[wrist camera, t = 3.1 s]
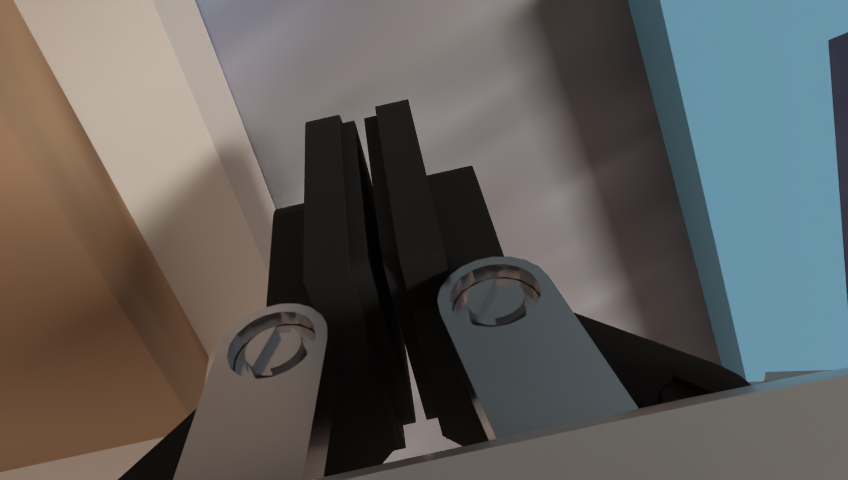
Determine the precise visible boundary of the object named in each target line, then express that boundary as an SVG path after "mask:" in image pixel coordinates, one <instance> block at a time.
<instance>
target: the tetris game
mask: <svg viewBox="0 0 848 480" xmlns="http://www.w3.org/2000/svg"><path fill="white" fill-rule="evenodd" d="M628 4H629V7H630V11H631V15H632V19H633V23H634V27H635V31H636V35H637V39H638V42H639V46H640V50H641V54H642V58H643V62H644V66H645V70H646V73H647V77H648V81H649V85H650V89H651V93H652V97H653V101H654V105H655V108H656V112H657V116H658V120H659V124H660V128H661V132H662V136H663V140H664V143H665V147H666V151H667V155H668V159H669V163H670V167H671V171H672V175H673V178H674V182H675V186H676V190H677V194H678V198H679V202H680V206H681V210H682V213H683V217H684V221H685V225H686V229H687V233H688V237H689V241H690V244H691V248H692V252H693V256H694V260H695V264H696V268H697V272H698V276H699V279H700V283H701V287H702V291H703V295H704V299H705V303H706V307H707V311H708V314H709V318H710V322H711V326H712V330H713V334H714V338H715V342H716V346H717V349H718V353H719V357H720V361H721V365H722V367H724V368H726V369H728V370H730V371H732V372H734V373H736V374H739V375H740V376H741V377H742V378H744V379H745V380H746V381H747V382H758V381H764V378H765V372H779V371H813V370H836V369H842V368H848V304H847V290H846V276H845V263H844V249H843V235H842V222H841V208H840V195H839V181H838V167H837V154H836V140H835V126H834V113H833V99H832V86H831V72H830V58H829V45H828V40H830V39H833V38H835V37H837V36H840V35H842V34H844V33H847V32H848V0H628Z"/></svg>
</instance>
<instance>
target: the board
mask: <svg viewBox="0 0 848 480" xmlns="http://www.w3.org/2000/svg"><path fill="white" fill-rule="evenodd" d="M14 2H15V4H16V6H17V8H18V10H19V11H20V13H21V15H22V17H23V19H24V21H25V22H26V24H27V26H28V28H29V30H30V32H31V33H32V35H33V37H34V39H35V41H36V42H37V44H38V46H39V48H40V50H41V52H42V53H43V55H44V57H45V59H46V61H47V63H48V64H49V66H50V68H51V70H52V72H53V73H54V75H55V77H56V79H57V81H58V83H59V84H60V86H61V88H62V90H63V92H64V94H65V95H66V97H67V99H68V101H69V103H70V104H71V106H72V108H73V110H74V112H75V114H76V115H77V117H78V119H79V121H80V123H81V125H82V126H83V128H84V130H85V132H86V134H87V135H88V137H89V139H90V141H91V143H92V145H93V146H94V148H95V150H96V152H97V154H98V156H99V157H100V159H101V161H102V163H103V165H104V167H105V168H106V170H107V172H108V174H109V176H110V177H111V179H112V181H113V183H114V185H115V187H116V188H117V190H118V192H119V194H120V196H121V198H122V199H123V201H124V203H125V205H126V207H127V208H128V210H129V212H130V214H131V216H132V218H133V219H134V221H135V223H136V225H137V227H138V229H139V230H140V232H141V234H142V236H143V238H144V239H145V241H146V243H147V245H148V247H149V249H150V250H151V252H152V254H153V256H154V258H155V260H156V261H157V263H158V265H159V267H160V269H161V270H162V272H163V274H164V276H165V278H166V280H167V281H168V283H169V285H170V287H171V289H172V291H173V292H174V294H175V296H176V298H177V300H178V301H179V303H180V305H181V307H182V309H183V311H184V312H185V314H186V316H187V318H188V320H189V322H190V323H191V325H192V327H193V329H194V331H195V333H196V334H197V336H198V338H199V340H200V342H201V343H202V345H203V347H204V349H205V351H206V353H207V354H208V356H209V360H208V366H207V373H206V379H205V383H206V380H207V377H208V374H209V371H210V368H211V365H212V362H213V359H214V356H215V353H216V350H217V348H218V346H219V345H220V343H221V341H222V339H223V337H224V336H225V335H226V334H227V332H228V331H229V330H230V329H231V328H232V327H233V326H234V325H235V324H236V323H238V322H239V321H241V320H242V319H244V318H245V317H246V316H248V315H249V314H252V313H254V312H256V311H258V310H261V309H263V308H265V307H266V303H267V290H268V277H269V263H270V250H271V237H272V224H273V215H274V211H275V210H276V209H275V206H274V204H273V201H272V199H271V196H270V193H269V191H268V188H267V186H266V183H265V180H264V178H263V175H262V173H261V170H260V167H259V165H258V162H257V160H256V157H255V155H254V152H253V149H252V147H251V144H250V142H249V139H248V136H247V134H246V131H245V129H244V126H243V123H242V121H241V118H240V116H239V113H238V111H237V108H236V105H235V103H234V100H233V98H232V95H231V92H230V90H229V87H228V85H227V82H226V80H225V77H224V74H223V72H222V69H221V67H220V64H219V61H218V59H217V56H216V54H215V51H214V48H213V46H212V43H211V41H210V38H209V36H208V33H207V30H206V28H205V25H204V23H203V20H202V17H201V15H200V12H199V10H198V7H197V4H196V2H195V0H14ZM204 386H205V385H204ZM163 438H164V437H162V438H157V439H153V440H148V441H143V442H139V443H134V444H129V445H125V446H120V447H115V448H111V449H106V450H101V451H97V452H92V453H87V454H83V455H78V456H73V457H69V458H64V459H60V460H55V461H50V462H46V463H41V464H36V465H32V466H27V467H22V468H18V469H13V470H8V471H4V472H0V480H118V479H119V478H120V477H121V476H122V475H123V474H125V473H126V472H127V471H128V470H129V469H130V468H131V467H132V466H133V465H134V464H136V463H137V462H138V461H139V460H140V459H141V458H142V457H143V456H144V455H146V454H147V453H148V452H149V451H150V450H151V449H152V448H153V447H154V446H156V445H157V444H158V443H159V442H160V441H161V440H162V439H163Z"/></svg>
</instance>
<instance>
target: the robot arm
mask: <svg viewBox="0 0 848 480" xmlns="http://www.w3.org/2000/svg"><path fill="white" fill-rule="evenodd" d="M375 109H376V115H377V116H373V117H369V118H364V121H365V129H366V137H367V145H368V153H369V161H370V169H371V177H372V183H371V179H370V175H369V172H368V168H367V164H366V161H365V157H364V153H363V150H362V146H361V142H360V138H359V135H358V131H357V128H356V124H355V122H354V121H351V122H346V123H342V120H341V117H340V116H339V115H336V116H332V117H328V118H323V119H319V120H314V121H310V122H306V125H305V185H304V203H303V204H298V205H294V206H289V207H285V208H280V209H276V210H275V211H274V215H273V224H272V237H271V250H270V263H269V277H268V290H267V303H266V307H265V308H263V309H261V310H258V311H256V312H254V313H252V314H249V315H248V316H246V317H245V318H244V319H242V320H241V321H239V322H238V323H236V324H235V325H234V326H233V327H232V328H231V329H230V330H229V331H228V332H227V334H226V335H225V336H224V337H223V339H222V341H221V343H220V345H219V346H218V348H217V350H216V353H215V356H214V359H213V362H212V365H211V368H210V371H209V374H208V377H207V380H206V383H205V386H204V389H203V392H202V395H201V398H200V401H199V404H198V407H197V408H196V409H195V410H194V411H193V412H192V413H191V414H190V415H189V416H188V417H186V418H185V419H184V420H183V421H182V422H181V423H180V424H179V425H178V426H177V427H175V428H174V429H173V430H172V431H171V432H170V433H169V434H168V435H167V436H165V437H164V438H163V439H162V440H161V441H160V442H159V443H158V444H157V445H156V446H154V447H153V448H152V449H151V450H150V451H149V452H148V453H147V454H146V455H144V456H143V457H142V458H141V459H140V460H139V461H138V462H137V463H136V464H134V465H133V466H132V467H131V468H130V469H129V470H128V471H127V472H126V473H125V474H123V475H122V476H121V477H120V478H119V479H118V480H848V368H842V369H836V370H813V371H779V372H765V378H764V381H758V382H747V381H746V380H745V379H744V378H742V377H741V376H740V375H739V374H736V373H734V372H732V371H730V370H728V369H726V368H724V367H722V366H720V365H717V364H715V363H712V362H709V361H706V360H704V359H701V358H698V357H695V356H692V355H690V354H687V353H684V352H681V351H679V350H676V349H673V348H670V347H667V346H665V345H662V344H659V343H656V342H654V341H651V340H648V339H645V338H642V337H640V336H637V335H634V334H631V333H629V332H626V331H623V330H620V329H618V328H615V327H612V326H609V325H606V324H604V323H601V322H598V321H595V320H593V319H590V318H587V317H584V316H581V315H579V314H576V313H573V311H572V310H571V308H570V307H569V305H568V304H567V302H566V301H565V300H564V298H563V297H562V295H561V294H560V292H559V291H558V289H557V288H556V286H555V285H554V283H553V282H552V280H551V279H550V278H549V276H548V275H547V274H546V273H545V272H544V271H543V270H542V269H541V268H540V267H539V266H537V265H535V264H533V263H531V262H529V261H527V260H524V259H519V258H514V257H504V255H503V252H502V249H501V247H500V244H499V241H498V238H497V235H496V232H495V229H494V226H493V224H492V221H491V218H490V215H489V212H488V209H487V206H486V203H485V201H484V198H483V195H482V192H481V189H480V186H479V183H478V180H477V178H476V175H475V172H474V169H473V167H472V166H468V167H463V168H459V169H454V170H450V171H445V172H441V173H437V174H432V175H428V176H426V172H425V167H424V163H423V159H422V155H421V151H420V147H419V143H418V139H417V134H416V130H415V126H414V122H413V118H412V114H411V110H410V106H409V102H408V99H407V100H403V101H399V102H394V103H390V104H385V105H381V106H376V107H375ZM372 185H373V186H372ZM405 345H406V349H407V352H408V356H409V359H410V363H411V366H412V370H413V373H414V377H415V380H416V384H417V387H418V391H419V394H420V398H421V401H422V405H423V408H424V412H425V415H426V419H427V420H429V419H433V418H438V420H439V423H440V427H441V431H442V435H443V436H444V437H446V439H450V440H452V441H454V442H456V443H458V444H459V445H461V446H463V447H458V448H454V449H449V450H445V451H440V452H436V453H431V454H426V455H422V456H417V457H413V458H408V459H404V460H399V461H395V462H390V463H385V464H382V463H383V462H384V461H385V460H386V459H387V458H388V456H389V455H390V454H391V453H392V452H393V451H394V450H398V449H403V448H406V445H405V437H404V429H403V425H406V424H411V423H415V422H416V419H415V411H414V404H413V397H412V390H411V383H410V376H409V370H408V363H407V356H406V349H405Z"/></svg>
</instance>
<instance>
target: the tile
mask: <svg viewBox="0 0 848 480" xmlns="http://www.w3.org/2000/svg"><path fill="white" fill-rule="evenodd" d="M208 360H209V356H208V354H207V353H206V351H205V349H204V347H203V345H202V343H201V342H200V340H199V338H198V336H197V334H196V333H195V331H194V329H193V327H192V325H191V323H190V322H189V320H188V318H187V316H186V314H185V312H184V311H183V309H182V307H181V305H180V303H179V301H178V300H177V298H176V296H175V294H174V292H173V291H172V289H171V287H170V285H169V283H168V281H167V280H166V278H165V276H164V274H163V272H162V270H161V269H160V267H159V265H158V263H157V261H156V260H155V258H154V256H153V254H152V252H151V250H150V249H149V247H148V245H147V243H146V241H145V239H144V238H143V236H142V234H141V232H140V230H139V229H138V227H137V225H136V223H135V221H134V219H133V218H132V216H131V214H130V212H129V210H128V208H127V207H126V205H125V203H124V201H123V199H122V198H121V196H120V194H119V192H118V190H117V188H116V187H115V185H114V183H113V181H112V179H111V177H110V176H109V174H108V172H107V170H106V168H105V167H104V165H103V163H102V161H101V159H100V157H99V156H98V154H97V152H96V150H95V148H94V146H93V145H92V143H91V141H90V139H89V137H88V135H87V134H86V132H85V130H84V128H83V126H82V125H81V123H80V121H79V119H78V117H77V115H76V114H75V112H74V110H73V108H72V106H71V104H70V103H69V101H68V99H67V97H66V95H65V94H64V92H63V90H62V88H61V86H60V84H59V83H58V81H57V79H56V77H55V75H54V73H53V72H52V70H51V68H50V66H49V64H48V63H47V61H46V59H45V57H44V55H43V53H42V52H41V50H40V48H39V46H38V44H37V42H36V41H35V39H34V37H33V35H32V33H31V32H30V30H29V28H28V26H27V24H26V22H25V21H24V19H23V17H22V15H21V13H20V11H19V10H18V8H17V6H16V4H15V2H14V0H0V472H4V471H8V470H13V469H18V468H22V467H27V466H32V465H36V464H41V463H46V462H50V461H55V460H60V459H64V458H69V457H73V456H78V455H83V454H87V453H92V452H97V451H101V450H106V449H111V448H115V447H120V446H125V445H129V444H134V443H139V442H143V441H148V440H153V439H157V438H162V437H165V436H167V435H168V434H169V433H170V432H171V431H172V430H173V429H174V428H175V427H177V426H178V425H179V424H180V423H181V422H182V421H183V420H184V419H185V418H186V417H188V416H189V415H190V414H191V413H192V412H193V411H194V410H195V409H196V408H197V407H198V404H199V401H200V398H201V395H202V392H203V389H204V385H205V379H206V373H207V366H208Z"/></svg>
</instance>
